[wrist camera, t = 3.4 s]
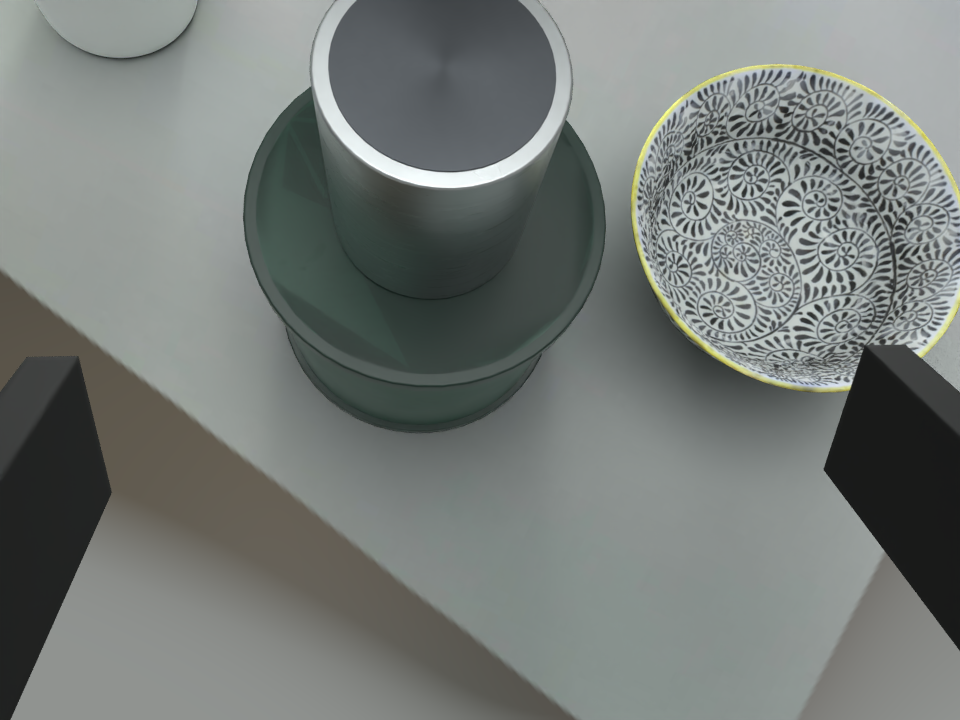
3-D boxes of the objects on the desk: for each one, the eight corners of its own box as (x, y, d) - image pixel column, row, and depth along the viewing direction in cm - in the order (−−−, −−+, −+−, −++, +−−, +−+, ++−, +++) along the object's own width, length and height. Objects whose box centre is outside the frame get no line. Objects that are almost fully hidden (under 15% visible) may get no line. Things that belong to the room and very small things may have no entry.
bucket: (224, 287, 40) (165, 187, 29) (430, 131, 43) (443, -8, 33) (406, 493, 39) (412, 466, 28) (605, 315, 42) (677, 231, 31)
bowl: (781, 484, 41) (865, 466, 33) (533, 295, 42) (562, 238, 34) (925, 258, 45) (1028, 199, 38) (696, 91, 46) (753, 2, 39)
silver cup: (293, 198, 30) (252, 47, 21) (436, 92, 32) (453, -88, 23) (420, 338, 29) (432, 241, 20) (560, 221, 31) (627, 86, 22)
